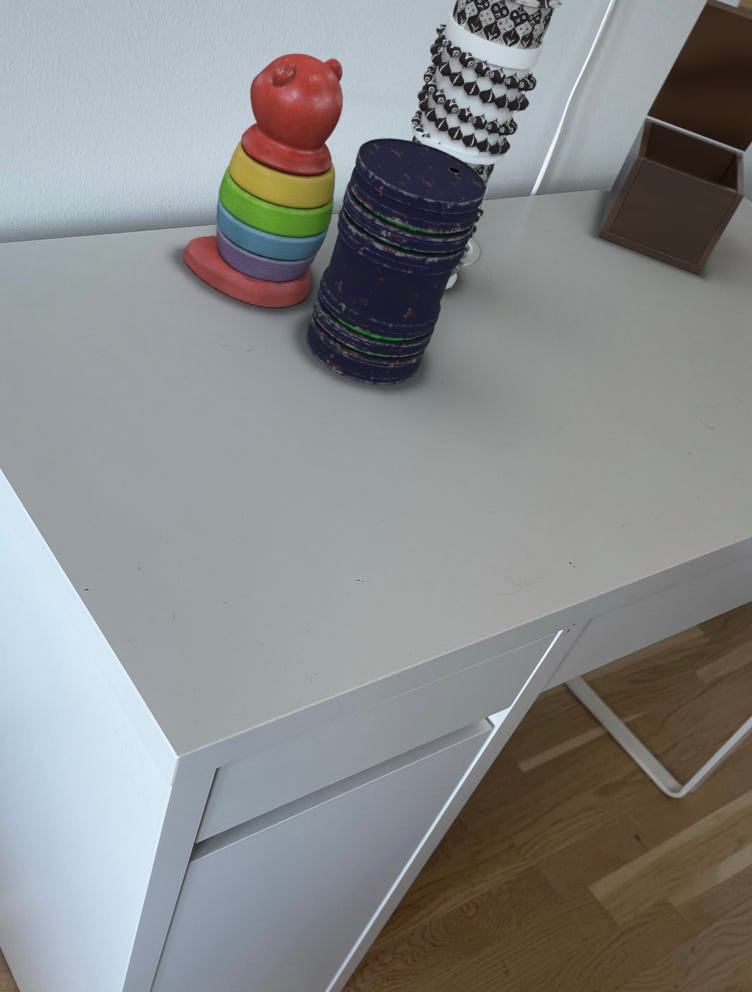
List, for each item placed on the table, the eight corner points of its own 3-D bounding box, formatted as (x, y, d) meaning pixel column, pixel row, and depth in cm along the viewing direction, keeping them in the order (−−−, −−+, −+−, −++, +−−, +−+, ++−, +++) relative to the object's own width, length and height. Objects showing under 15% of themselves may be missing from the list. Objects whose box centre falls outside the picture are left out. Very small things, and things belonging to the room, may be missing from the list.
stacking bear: (276, 242, 91) (327, 29, 78) (337, 302, 86) (402, 86, 73) (173, 252, 85) (209, 25, 72) (233, 317, 81) (282, 86, 68)
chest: (698, 274, 108) (744, 195, 101) (598, 236, 108) (637, 155, 102) (701, 228, 117) (743, 153, 111) (608, 193, 118) (645, 117, 111)
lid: (819, 43, 96) (831, 7, 97) (706, 2, 97) (719, -33, 98) (744, 152, 110) (756, 119, 111) (646, 115, 111) (658, 83, 112)
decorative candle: (347, 246, 94) (438, -63, 75) (419, 237, 98) (521, -55, 80) (405, 298, 89) (516, -15, 71) (478, 287, 94) (599, -10, 76)
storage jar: (338, 390, 77) (399, 203, 66) (284, 318, 82) (332, 135, 71) (441, 380, 81) (514, 204, 71) (384, 313, 87) (443, 139, 76)
